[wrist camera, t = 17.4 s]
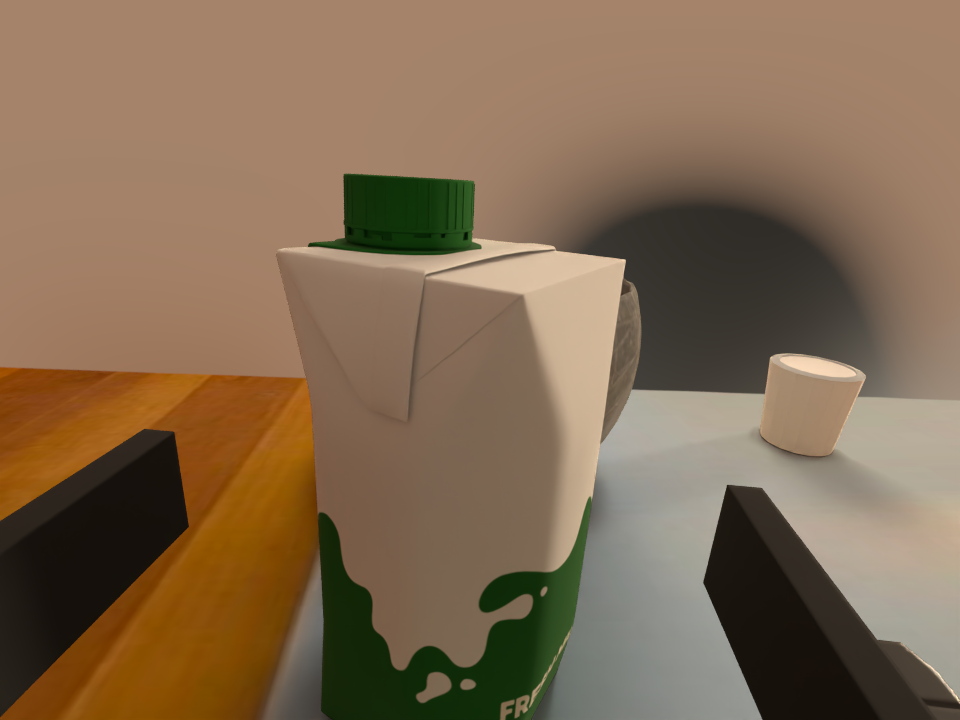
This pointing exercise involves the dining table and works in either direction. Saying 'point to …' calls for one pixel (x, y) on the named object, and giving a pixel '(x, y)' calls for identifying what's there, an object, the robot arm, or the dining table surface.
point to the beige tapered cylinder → (808, 402)
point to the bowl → (623, 356)
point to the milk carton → (448, 449)
